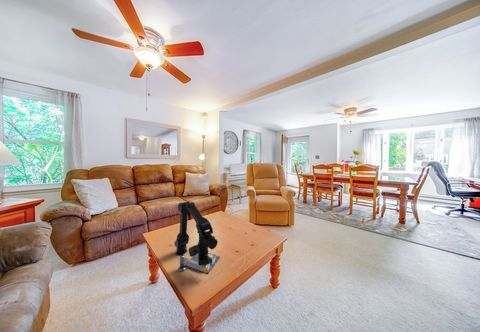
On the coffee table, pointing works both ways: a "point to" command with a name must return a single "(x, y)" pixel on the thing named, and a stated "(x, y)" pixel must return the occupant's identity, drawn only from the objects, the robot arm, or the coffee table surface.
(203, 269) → the cable arm
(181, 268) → the pivot post
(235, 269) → the coffee table surface
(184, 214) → the robot arm
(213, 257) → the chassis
